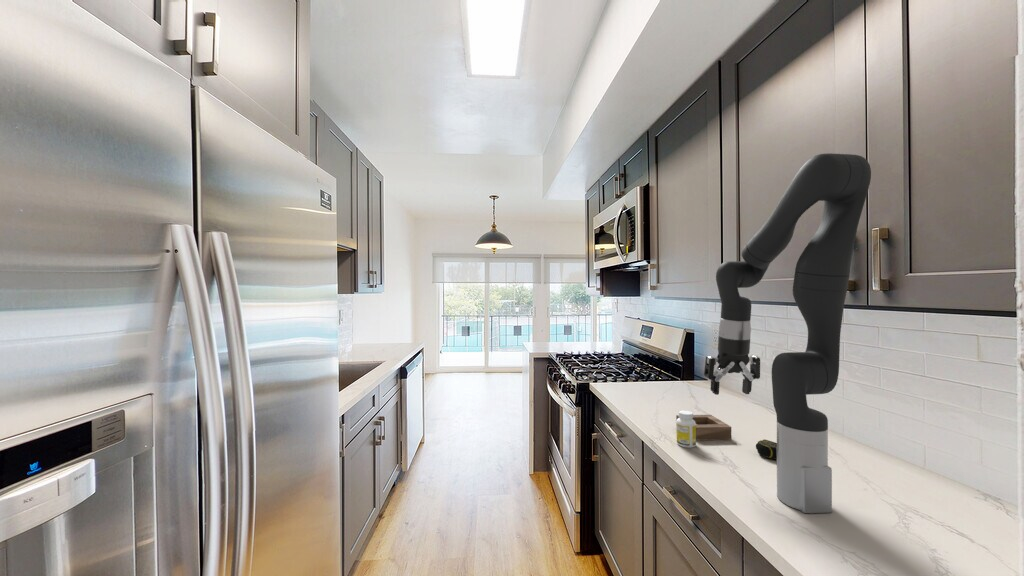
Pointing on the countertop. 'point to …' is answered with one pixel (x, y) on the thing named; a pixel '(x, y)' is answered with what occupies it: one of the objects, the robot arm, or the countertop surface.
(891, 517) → the countertop surface
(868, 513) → the countertop surface
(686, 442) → the supplement bottle
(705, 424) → the socket block
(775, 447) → the tape measure
